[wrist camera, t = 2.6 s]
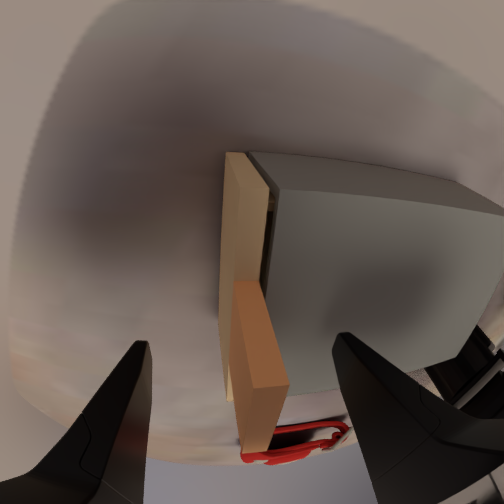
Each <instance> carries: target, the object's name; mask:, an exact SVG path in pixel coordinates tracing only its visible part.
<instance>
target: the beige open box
mask: <svg viewBox="0 0 504 504" xmlns="http://www.w3.org/2000/svg"><path fill="white" fill-rule="evenodd" d="M274 205H275V197H274V195H273V194H272V193H271V191H270V190H269V187H268V186H267V184H266V183H265V181H264V180H263V179H262V177H261V176H260V174H259V173H258V172H257V170H256V169H255V167H254V166H253V165H252V163H251V162H250V160H249V159H248V158H247V156H246V155H245V154H244V153H238V152H226V158H225V174H224V191H223V209H222V229H221V252H220V279H219V314H218V327H219V337H220V347H221V356H222V365H223V374H224V383H225V391H226V399H227V402H228V401H234V406H235V412H236V419H237V426H238V432H239V439H240V445H241V451H242V454H243V453H254V452H263V451H267V449H268V446H269V444H270V441H271V438H272V436H273V433H274V430H275V427H276V425H277V422H278V419H279V416H280V413H281V410H282V407H283V404H284V401H285V398H286V395H287V392H288V389H289V386H290V383H289V380H288V377H287V373H286V370H285V367H284V363H283V360H282V357H281V353H280V350H279V347H278V343H277V340H276V337H275V333H274V330H273V327H272V323H271V320H270V317H269V313H268V310H267V307H266V303H265V300H264V297H263V290H264V282H265V275H266V267H267V260H268V252H269V244H270V237H271V229H272V221H273V213H274Z"/></svg>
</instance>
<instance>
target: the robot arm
mask: <svg viewBox="0 0 504 504" xmlns="http://www.w3.org/2000/svg"><path fill="white" fill-rule="evenodd" d="M494 349H495V345H494V344H493V343H492V342H491V341H490V339H489V338H488V337H487V336H486V335H485V333H484V332H483V331H482V330H481V329H480V328H479V326H478V325H477V324H476V326H475V328H474V329H473V331H472V333H471V334H470V336H469V338H468V339H467V341H466V342H465V344H464V345H463V347H462V349H461V350H460V352H459V353H458V355H457V356H456V357H454V358H452V359H449V360H446V361H443V362H440V363H437V364H434V365H431V366H428V367H424V369H425V371H426V372H427V374H428V375H429V377H430V378H431V380H432V382H433V383H434V385H435V386H436V388H437V389H438V391H439V393H440V394H441V396H442V398H443V399H444V400H442V399H440V398H439V397H437V396H436V395H435V394H433V393H432V392H430V391H429V390H427V389H426V388H425V387H423V386H422V385H421V384H419V383H418V382H416V381H415V380H414V379H412V378H411V377H410V376H408V375H407V374H406V373H404V372H403V371H402V370H400V369H399V368H398V367H396V366H395V365H393V364H392V363H391V362H389V361H388V360H387V359H385V358H384V357H383V356H381V355H380V354H379V353H377V352H376V351H375V350H373V349H372V348H371V347H369V346H368V345H367V344H365V343H364V342H363V341H361V340H360V339H358V338H357V337H356V336H354V335H353V334H352V333H350V332H340V333H338V334H337V336H336V339H335V341H334V344H333V347H332V357H333V361H334V365H335V370H336V374H337V378H338V383H339V387H340V390H341V393H342V396H343V399H344V402H345V405H346V407H347V410H348V413H349V416H350V419H351V422H352V425H353V428H354V430H355V433H356V436H357V439H358V442H359V445H360V448H361V451H362V454H363V457H364V460H365V463H366V466H367V469H368V473H369V476H370V479H371V482H372V485H373V489H374V492H375V495H376V498H377V502H378V504H504V372H503V371H501V369H502V368H503V367H504V350H502V349H501V348H500V349H499V350H498V351H497V354H496V355H494V354H493V352H492V351H493V350H494ZM151 405H152V356H151V351H150V347H149V343H148V341H142V340H137V341H135V342H134V343H133V345H132V346H131V347H130V348H129V350H128V351H127V352H126V354H125V355H124V356H123V358H122V359H121V360H120V361H119V363H118V364H117V365H116V367H115V368H114V369H113V371H112V372H111V373H110V375H109V376H108V377H107V379H106V380H105V381H104V383H103V384H102V385H101V387H100V388H99V389H98V391H97V392H96V393H95V395H94V396H93V397H92V399H91V400H90V401H89V403H88V404H87V406H86V407H85V408H84V410H83V411H82V413H81V414H80V415H79V416H78V418H77V419H76V421H75V422H74V423H73V424H72V426H71V427H70V428H69V430H68V431H67V432H66V433H65V435H64V436H63V437H62V438H61V439H60V440H59V442H58V443H57V444H56V445H55V446H54V447H53V448H52V449H51V450H50V451H49V452H48V453H47V455H46V456H45V457H44V458H43V459H42V460H41V461H40V462H39V463H38V464H37V465H36V466H35V467H34V468H33V469H32V470H30V471H29V472H27V473H26V474H24V475H21V476H18V477H15V478H12V479H9V480H5V481H2V482H0V504H143V496H144V479H145V464H146V453H147V442H148V432H149V423H150V414H151Z"/></svg>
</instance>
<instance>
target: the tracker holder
mask: <svg viewBox="0 0 504 504" xmlns="http://www.w3.org/2000/svg"><path fill="white" fill-rule="evenodd" d="M319 427H335V428H338V429H339V430H340V432H334V433H333V434H332V439H322V440H316V441H310V442H307V443H303V444H299V445H295V446H291V447H286V448H282V449H276V450H267V451H263V452H254V453H243V454H242V451H241V452H240V455H241V459H242V460H243V462H245V463H252V462H255V463H264V464H267V465H282V464H288V463H292V462H295V461H297V460H299V459H302V458H305V457H306V456H307V455H308V454H309V453H310V452H311V450H314V449H316V448H319V445H320V448H323V449H322V452H332V451H333V450H334V449H336V448H337V446H338V445H339V444H342V443H343V442H344V441H345V440H346V439H347V438H348V437H349V436H350V435H351V433H352V431H353V430H354V428H353V426H352V427H348V426H347V425H346V424H345V423H343V422H340V421H320V422H312V423H306V424H300V425H293V426H286V427H278V428H275V430H274V433H273V435H275V434H282V433H289V432H296V431H302V430H308V429H313V428H319ZM329 447H331V448H329Z"/></svg>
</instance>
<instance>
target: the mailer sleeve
mask: <svg viewBox="0 0 504 504" xmlns="http://www.w3.org/2000/svg"><path fill="white" fill-rule="evenodd" d="M248 159H249V160H250V162H251V163H252V165H253V166H254V167H255V169H256V170H257V172H258V173H259V174H260V176H261V177H262V179H263V180H264V181H265V183H266V184H267V186H268V187H269V190H270V191H271V193H272V194H273V195H274V197H275V205H274V213H273V221H272V229H271V237H270V244H269V252H268V260H267V267H266V275H265V282H264V290H263V297H264V300H265V303H266V307H267V310H268V313H269V317H270V320H271V323H272V327H273V330H274V333H275V337H276V340H277V343H278V347H279V350H280V353H281V357H282V360H283V363H284V367H285V370H286V373H287V377H288V380H289V383H290V386H289V389H288V392H287V395H286V397H287V396H295V395H302V394H309V393H316V392H322V391H328V390H334V389H339V388H340V387H339V383H338V378H337V374H336V370H335V365H334V361H333V357H332V347H333V344H334V341H335V339H336V336H337V334H338V333H340V332H350V333H352V334H353V335H354V336H356V337H357V338H358V339H360V340H361V341H363V342H364V343H365V344H367V345H368V346H369V347H371V348H372V349H373V350H375V351H376V352H377V353H379V354H380V355H381V356H383V357H384V358H385V359H387V360H388V361H389V362H391V363H392V364H393V365H395V366H396V367H398V368H399V369H400V370H402V371H403V372H404V373H407V372H411V371H414V370H418V369H421V368H424V367H428V366H431V365H434V364H437V363H440V362H443V361H446V360H449V359H452V358H454V357H456V356H457V355H458V353H459V352H460V350H461V349H462V347H463V345H464V344H465V342H466V341H467V339H468V338H469V336H470V334H471V333H472V331H473V329H474V328H475V326H476V324H477V323H478V321H479V319H480V317H481V315H482V314H483V312H484V310H485V308H486V306H487V304H488V303H489V301H490V299H491V297H492V295H493V293H494V291H495V289H496V287H497V285H498V283H499V280H500V278H501V276H502V274H503V272H504V208H502V207H501V206H499V205H497V204H496V203H494V202H492V201H491V200H489V199H487V198H485V197H484V196H482V195H480V194H478V193H476V192H475V191H473V190H471V189H469V188H467V187H465V186H463V185H461V184H459V183H457V182H453V181H449V180H445V179H441V178H437V177H432V176H428V175H423V174H419V173H414V172H409V171H404V170H399V169H393V168H388V167H382V166H377V165H370V164H364V163H358V162H351V161H344V160H337V159H329V158H321V157H312V156H302V155H292V154H281V153H268V152H253V151H249V157H248Z"/></svg>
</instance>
